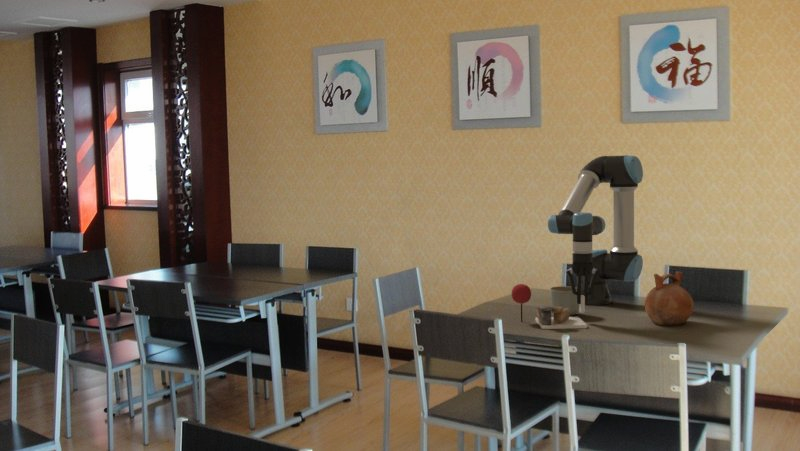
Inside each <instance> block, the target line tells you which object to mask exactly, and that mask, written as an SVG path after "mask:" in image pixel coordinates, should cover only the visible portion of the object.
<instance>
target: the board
mask: <svg viewBox="0 0 800 451" xmlns="http://www.w3.org/2000/svg"><path fill="white" fill-rule="evenodd" d="M534 318H535V322H536V323H537V324H538V326H539V327H540V328H541V329H542V330H551V329H552V330H555V329H556V330H558V329H562V330H563V329H565V330H566V329H588V324H587V323H586V322H585V321H584V320H583V319H581V318H580V317H579V316H569V319H567V320H566V321H564V322H563V323H554V316H551V325H542V322H541V321H540V320H539V319H538V318H537V317H534Z"/></svg>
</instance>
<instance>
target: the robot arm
mask: <svg viewBox="0 0 800 451" xmlns="http://www.w3.org/2000/svg"><path fill="white" fill-rule="evenodd" d="M643 169H644V168H643V165H642V162H641V160H640V158H639V157H638V156H635V155H603V156H602V155H601V156H598V157H596V158H594V159H592V160H591V161H589V162H588V163H587V164H586V165H584V167H583V168H582V169H581V170H580V171H579V173H578V175H577V181H576V183H575V185H574V187H573V189H572V190H571V192H570V193H569V195H568V197H567V199H566V201H564V204H563V206H562V207H561V209H560V211H559V213H558V214H553V215H550V216H549V217H548V220H547V228H548V231H549V232H550V233H552V234H559V235H572V252H573V253H572V264H571V266H570V268H569V269H565V273H566V275H567V276H568V281H569V285H570V287H571V290H572V293H573V294H575V295H577V304H579V311H578V312H579V313H581V314H584V313H586V310H585V308H586V305H590V306H591V305H593V306H598V305H603V306H604V305H608V304H609V305H610V304H611V303H612V297H611V294H610V293H611V292H610V290H609V287H608V281H619V282H620V281H622V282H635V281H637V280H638V279H639V278H640V275H641V273H642V271H643V265H644V264H643V261H644V259H643V257H642V255H640V254H639V252H638V248H637V247H635V190H637V188H638V187H639V184H641V182H642V181H643V177H644V170H643ZM603 183H604V184H609V188H610V189H611V190H612V193H613V200H612V203H613V205H612V206H613V207H612V208H613V246H612V247H611V248H610V249H609V252H608V249H594V250H593V236H597V235H598V236H599V235H600V234H602V233H603V232H604V231H605V229H606V221H605V219H604V218H603V217H601V216H600V215H593V213H591V212H582V211H583V209H584V207H585V205H586V203H587V202H588V200H589V198H590V197H591V195H592V193H593V191H594V189H596V188H598V187H599V185H600V184H603ZM573 272H574V274H575V275H576V286H575V280H574V277H573ZM575 287H577V292H576V289H575Z"/></svg>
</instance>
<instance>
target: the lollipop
mask: <svg viewBox="0 0 800 451" xmlns="http://www.w3.org/2000/svg"><path fill="white" fill-rule="evenodd" d="M531 297H532V291H531V288H530V287H529V286H528V285H527V284H525V283H523V284H522V283H519V284H516V285H514V286H513V287H512V289H511V298H512V300H513V301H514V302H515V303H517V304H520V322H523V304H526V303H528V302H530V300H531Z"/></svg>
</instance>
